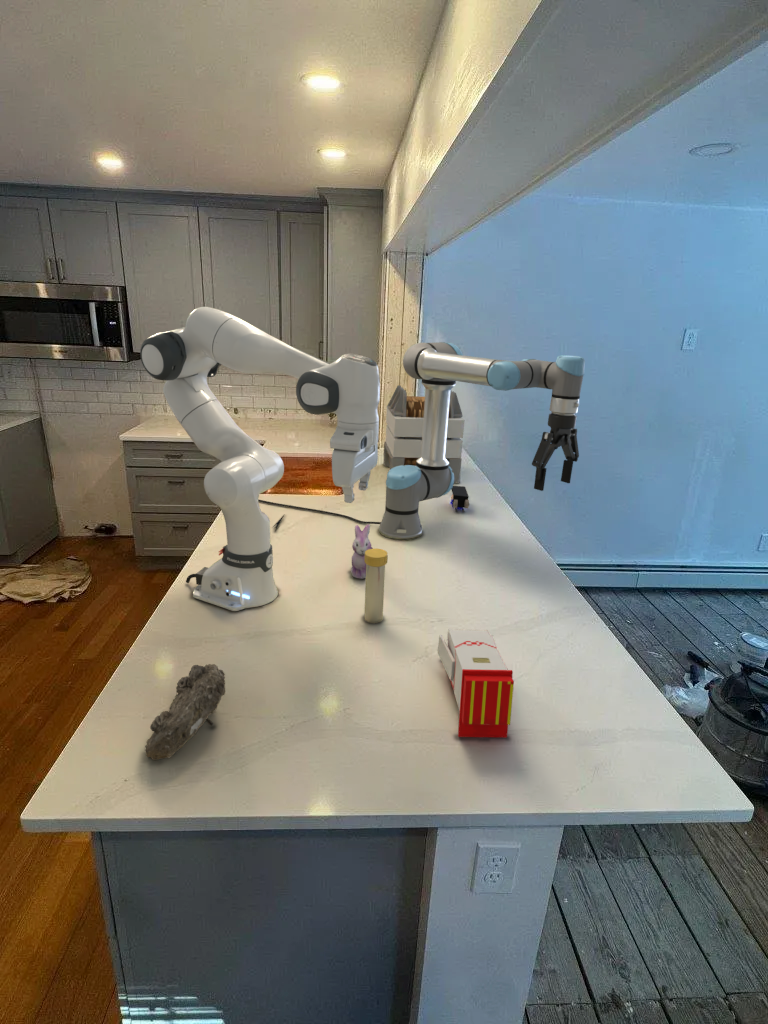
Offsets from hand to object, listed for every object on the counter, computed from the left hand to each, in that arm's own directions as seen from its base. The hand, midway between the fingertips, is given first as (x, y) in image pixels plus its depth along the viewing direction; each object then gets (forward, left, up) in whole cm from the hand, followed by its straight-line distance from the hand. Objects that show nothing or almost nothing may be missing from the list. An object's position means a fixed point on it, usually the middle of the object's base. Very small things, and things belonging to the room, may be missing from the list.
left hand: (356, 495), depth 125 cm
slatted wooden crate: (-17, +147, -36) cm, 152 cm away
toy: (+30, -12, -36) cm, 48 cm away
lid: (+2, +9, -18) cm, 20 cm away
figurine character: (+9, +103, -36) cm, 110 cm away
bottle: (+2, +9, -36) cm, 37 cm away
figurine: (-8, +33, -36) cm, 49 cm away
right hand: (+42, +53, -8) cm, 68 cm away
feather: (-50, +65, -36) cm, 90 cm away
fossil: (-18, -39, -36) cm, 56 cm away
